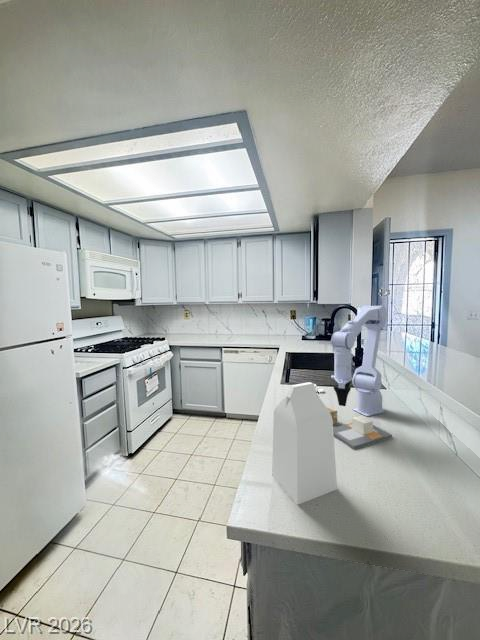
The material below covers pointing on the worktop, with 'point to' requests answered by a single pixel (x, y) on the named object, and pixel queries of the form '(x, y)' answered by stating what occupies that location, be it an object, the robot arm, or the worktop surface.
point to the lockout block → (333, 414)
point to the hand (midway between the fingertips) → (342, 401)
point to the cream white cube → (362, 425)
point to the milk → (303, 445)
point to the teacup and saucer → (318, 389)
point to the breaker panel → (359, 436)
